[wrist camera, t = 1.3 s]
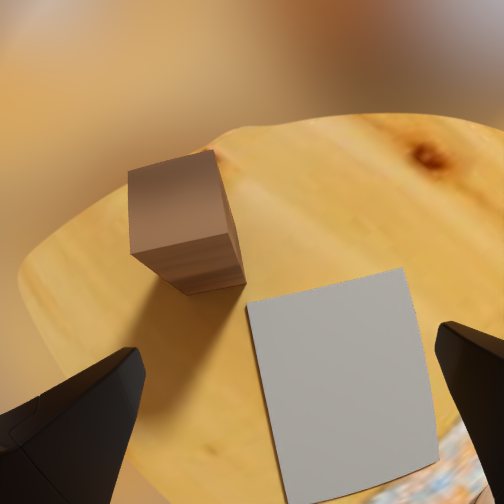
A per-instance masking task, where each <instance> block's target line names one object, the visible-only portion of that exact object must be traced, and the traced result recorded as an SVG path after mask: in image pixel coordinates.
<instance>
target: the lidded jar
mask: <svg viewBox="0 0 504 504" xmlns="http://www.w3.org/2000/svg"><path fill="white" fill-rule="evenodd" d="M475 504H495V502H494V499H493V496H492V493H491V490H490V487H489V485H488V486H487V487H486V488H485V489H484V490H483V491H482V493H481V494H480V496H479V497H478V499H477V501H476V502H475Z"/></svg>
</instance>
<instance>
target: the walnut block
mask: <svg viewBox="0 0 504 504" xmlns="http://www.w3.org/2000/svg"><path fill="white" fill-rule="evenodd" d="M128 213H129V237H130V254H131V255H132V256H134V257H135V258H136V259H138V260H139V261H140V262H141V263H143V264H144V265H145V266H147V267H148V268H149V269H151V270H152V271H153V272H155V273H156V274H158V275H159V276H160V277H162V278H163V279H164V280H166V281H167V282H168V283H170V284H171V285H173V286H174V287H175V288H177V289H178V290H180V291H181V292H182V293H184V294H185V295H192V294H197V293H202V292H207V291H213V290H218V289H223V288H228V287H233V286H238V285H243V284H247V282H246V277H245V272H244V267H243V262H242V257H241V252H240V247H239V242H238V236H237V231H236V226H235V223H234V219H233V216H232V213H231V209H230V206H229V202H228V199H227V195H226V192H225V188H224V185H223V181H222V178H221V174H220V171H219V167H218V164H217V160H216V157H215V154H214V150H209V151H205V152H200V153H196V154H192V155H187V156H183V157H180V158H175V159H171V160H168V161H164V162H160V163H156V164H152V165H149V166H145V167H142V168H138V169H135V170H131V171H128Z"/></svg>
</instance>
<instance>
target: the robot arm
mask: <svg viewBox="0 0 504 504" xmlns="http://www.w3.org/2000/svg"><path fill="white" fill-rule="evenodd" d="M435 354H436V357H437V359H438V362H439V364H440V367H441V370H442V372H443V375H444V378H445V381H446V384H447V386H448V389H449V391H450V394H451V396H452V398H453V400H454V402H455V404H456V407H457V409H458V411H459V413H460V415H461V417H462V420H463V422H464V424H465V426H466V429H467V431H468V433H469V436H470V438H471V440H472V443H473V445H474V448H475V450H476V453H477V455H478V458H479V460H480V463H481V465H482V468H483V470H484V473H485V476H486V479H487V481H488V484H489V487H490V490H491V493H492V496H493V499H494V502H495V504H504V340H502V339H499V338H497V337H494V336H491V335H489V334H486V333H483V332H481V331H478V330H475V329H473V328H470V327H467V326H465V325H462V324H459V323H457V322H454V321H448V322H443V323H441V324H440V325H439V328H438V333H437V337H436V342H435ZM145 376H146V372H145V367H144V364H143V361H142V358H141V355H140V352H139V350H138V349H137V348H136V347H124V348H122V349H120V350H118V351H117V352H115V353H113V354H111V355H110V356H108V357H106V358H104V359H103V360H101V361H99V362H97V363H96V364H94V365H92V366H90V367H89V368H87V369H85V370H83V371H82V372H80V373H78V374H76V375H74V376H73V377H71V378H69V379H67V380H66V381H64V382H62V383H60V384H58V385H57V386H55V387H53V388H51V389H50V390H48V391H46V392H44V393H42V394H41V395H40V396H37V397H35V398H33V399H31V400H30V401H28V402H26V403H24V404H22V405H20V406H18V407H16V408H14V409H12V410H10V411H8V412H6V413H4V414H1V415H0V504H110V501H111V498H112V494H113V491H114V487H115V484H116V481H117V478H118V474H119V471H120V468H121V464H122V461H123V458H124V455H125V452H126V449H127V446H128V442H129V439H130V436H131V433H132V430H133V427H134V424H135V421H136V418H137V414H138V409H139V404H140V400H141V395H142V390H143V386H144V381H145Z"/></svg>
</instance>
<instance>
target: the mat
mask: <svg viewBox="0 0 504 504" xmlns="http://www.w3.org/2000/svg"><path fill="white" fill-rule="evenodd" d="M247 309H248V314H249V319H250V324H251V329H252V334H253V339H254V344H255V349H256V354H257V359H258V364H259V368H260V373H261V378H262V383H263V388H264V393H265V398H266V402H267V407H268V412H269V417H270V422H271V426H272V431H273V436H274V440H275V445H276V450H277V454H278V459H279V464H280V468H281V473H282V477H283V482H284V486H285V491H286V496H287V500H288V504H312V503H317V502H321V501H325V500H329V499H333V498H337V497H341V496H344V495H348V494H351V493H355V492H358V491H361V490H365V489H368V488H371V487H374V486H377V485H380V484H383V483H385V482H388V481H391V480H394V479H396V478H399V477H401V476H404V475H406V474H409V473H411V472H414V471H416V470H419V469H421V468H423V467H425V466H428V465H430V464H432V463H434V462H436V461H439V460H440V459H439V447H438V437H437V428H436V420H435V412H434V405H433V398H432V392H431V386H430V380H429V374H428V369H427V363H426V358H425V353H424V349H423V344H422V339H421V335H420V330H419V326H418V322H417V318H416V314H415V310H414V306H413V302H412V298H411V295H410V291H409V287H408V284H407V280H406V277H405V273H404V270H403V267H402V268H398V269H394V270H390V271H386V272H382V273H378V274H374V275H370V276H366V277H362V278H358V279H354V280H350V281H345V282H341V283H337V284H333V285H328V286H324V287H320V288H315V289H311V290H306V291H302V292H297V293H293V294H288V295H284V296H279V297H274V298H270V299H265V300H260V301H255V302H250V303H247Z"/></svg>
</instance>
